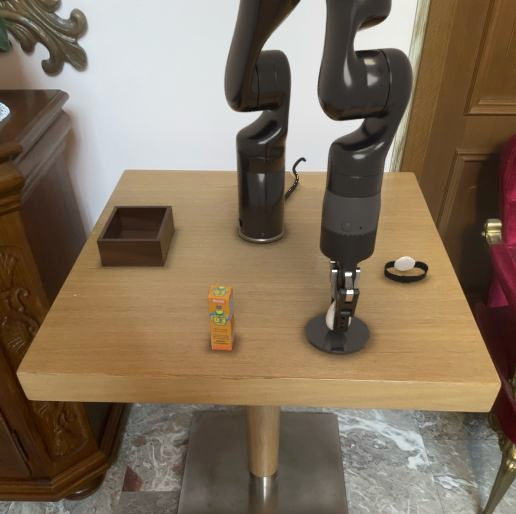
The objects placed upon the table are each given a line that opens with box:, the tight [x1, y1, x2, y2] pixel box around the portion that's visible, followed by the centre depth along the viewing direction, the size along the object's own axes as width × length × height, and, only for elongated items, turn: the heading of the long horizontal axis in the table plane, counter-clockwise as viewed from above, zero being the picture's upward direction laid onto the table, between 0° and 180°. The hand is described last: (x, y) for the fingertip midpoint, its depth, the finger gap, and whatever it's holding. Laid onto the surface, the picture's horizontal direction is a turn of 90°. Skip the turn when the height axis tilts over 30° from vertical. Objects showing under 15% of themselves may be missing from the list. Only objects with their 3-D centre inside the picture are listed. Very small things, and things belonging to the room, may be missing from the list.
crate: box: [96, 205, 176, 267], centre depth 102 cm, size 15×12×5 cm
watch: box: [383, 255, 429, 284], centre depth 93 cm, size 8×5×4 cm, turn 88°
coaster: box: [304, 312, 371, 356], centre depth 82 cm, size 10×10×1 cm
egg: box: [326, 301, 351, 330], centre depth 80 cm, size 4×4×6 cm
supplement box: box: [207, 284, 236, 352], centre depth 77 cm, size 3×3×10 cm
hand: (338, 321), depth 81 cm, fingers closed on egg, 3 cm apart
